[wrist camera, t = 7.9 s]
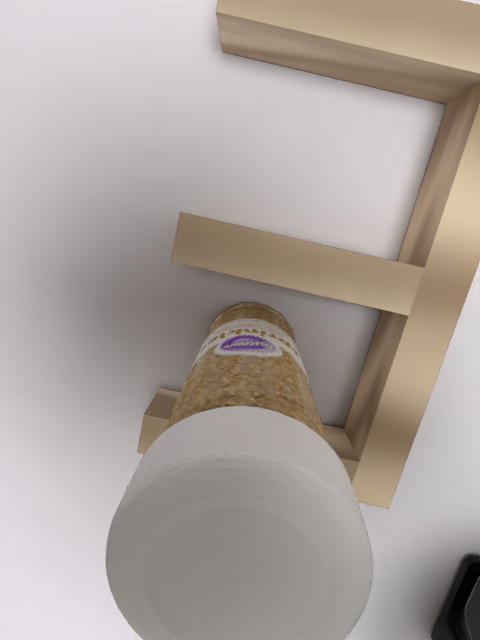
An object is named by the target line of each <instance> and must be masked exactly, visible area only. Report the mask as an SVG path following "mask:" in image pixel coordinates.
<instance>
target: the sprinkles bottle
mask: <svg viewBox="0 0 480 640" xmlns="http://www.w3.org/2000/svg"><path fill="white" fill-rule="evenodd" d="M106 573H107V577H108V581H109V585H110V589H111V592H112V595H113V597H114V599H115V602H116V604H117V606H118V608H119V610H120V611H121V613H122V614H123V616H124V617H125V619H126V620H127V622H128V623H129V625H130V626H131V627H132V628H133V629H134V631H135V632H136V633H137V634H138V635H139V636H140V637H141V638H142V639H143V640H344V639H345V637H346V636H347V635H348V634H349V632H350V631H351V630H352V629H353V627H354V626H355V624H356V623H357V621H358V619H359V618H360V616H361V615H362V613H363V611H364V608H365V606H366V603H367V600H368V597H369V594H370V590H371V584H372V576H373V557H372V551H371V545H370V541H369V537H368V533H367V530H366V526H365V523H364V520H363V517H362V514H361V511H360V508H359V505H358V502H357V499H356V496H355V493H354V490H353V487H352V485H351V482H350V479H349V476H348V474H347V472H346V470H345V467H344V465H343V463H342V462H341V460H340V459H339V457H338V456H337V454H336V453H335V451H334V450H333V449H332V448H331V447H330V446H329V444H328V443H327V441H326V438H325V435H324V431H323V428H322V424H321V420H320V417H319V415H318V411H317V408H316V405H315V402H314V398H313V396H312V393H311V389H310V387H309V378H308V375H307V372H306V370H305V366H304V364H303V361H302V358H301V356H300V353H299V350H298V348H297V346H296V344H295V338H294V335H293V331H292V328H291V327H290V326H289V324H288V322H287V321H286V319H285V318H284V317H283V316H282V315H281V314H280V313H278V312H277V311H275V310H274V309H272V308H270V307H267V306H264V305H262V304H257V303H242V304H239V305H235V306H232V307H230V308H229V309H227V310H225V311H224V312H223V313H221V314H220V315H219V316H218V317H217V318H216V319H215V320H214V322H213V324H212V325H211V327H210V328H209V331H208V334H207V339H206V340H205V342H204V343H203V345H202V347H201V349H200V351H199V353H198V355H197V357H196V359H195V361H194V363H193V365H192V367H191V369H190V371H189V374H188V376H187V379H186V382H185V384H184V387H183V389H182V390H181V393H180V395H179V397H178V399H177V401H176V404H175V406H174V409H173V413H172V416H171V418H170V420H169V422H168V424H167V426H166V429H165V431H164V432H163V433H162V434H161V435H160V436H159V437H158V438H157V439H156V440H155V441H154V442H153V443H152V445H151V446H150V447H149V449H148V450H147V451H146V453H145V455H144V456H143V458H142V460H141V462H140V464H139V465H138V467H137V469H136V471H135V473H134V475H133V477H132V479H131V481H130V483H129V485H128V487H127V489H126V491H125V493H124V496H123V498H122V500H121V502H120V504H119V506H118V509H117V511H116V513H115V515H114V517H113V520H112V523H111V526H110V530H109V534H108V539H107V548H106Z"/></svg>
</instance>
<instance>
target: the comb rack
mask: <svg viewBox="0 0 480 640" xmlns="http://www.w3.org/2000/svg"><path fill="white" fill-rule="evenodd" d="M216 15H217V21H218V26H219V32H220V38H221V43H222V49H223V52H225V53H230V54H234V55H238V56H243V57H247V58H251V59H255V60H260V61H264V62H268V63H273V64H277V65H281V66H285V67H290V68H294V69H298V70H302V71H307V72H311V73H315V74H320V75H324V76H328V77H332V78H337V79H341V80H345V81H350V82H354V83H358V84H362V85H367V86H371V87H375V88H379V89H384V90H388V91H392V92H397V93H401V94H405V95H409V96H414V97H418V98H422V99H426V100H431V101H435V102H439V103H444V104H447V106H446V109H445V112H444V116H443V119H442V122H441V125H440V128H439V131H438V134H437V138H436V141H435V144H434V147H433V150H432V153H431V157H430V160H429V163H428V166H427V169H426V172H425V175H424V179H423V182H422V185H421V188H420V191H419V194H418V197H417V201H416V204H415V207H414V210H413V213H412V216H411V220H410V223H409V226H408V229H407V232H406V235H405V238H404V242H403V245H402V248H401V251H400V254H399V257H398V261H397V262H396V261H392V260H387V259H383V258H379V257H374V256H370V255H366V254H361V253H357V252H352V251H348V250H344V249H339V248H335V247H331V246H326V245H322V244H318V243H313V242H309V241H304V240H300V239H296V238H291V237H287V236H283V235H278V234H274V233H270V232H265V231H261V230H256V229H252V228H248V227H243V226H239V225H235V224H230V223H226V222H221V221H217V220H213V219H208V218H204V217H200V216H195V215H191V214H187V213H182V212H180V216H179V221H178V227H177V232H176V238H175V244H174V249H173V255H172V260H171V262H175V263H179V264H184V265H188V266H193V267H197V268H201V269H206V270H210V271H215V272H219V273H223V274H228V275H232V276H237V277H241V278H245V279H250V280H254V281H259V282H263V283H267V284H272V285H276V286H280V287H285V288H289V289H294V290H298V291H302V292H307V293H311V294H316V295H320V296H324V297H329V298H333V299H338V300H342V301H346V302H351V303H355V304H360V305H364V306H368V307H373V308H377V309H382V311H381V314H380V317H379V320H378V324H377V327H376V330H375V333H374V336H373V339H372V342H371V346H370V349H369V352H368V355H367V358H366V361H365V365H364V368H363V371H362V374H361V377H360V380H359V383H358V387H357V390H356V393H355V396H354V399H353V402H352V405H351V409H350V412H349V415H348V418H347V421H346V424H345V428H344V429H342V428H338V427H333V426H329V425H324V424H322V428H323V431H324V435H325V438H326V441H327V443H328V444H329V446H330V447H331V448H332V449H333V450H334V451H335V453H336V454H337V456H338V457H339V459H340V460H341V462H342V463H343V465H344V467H345V470H346V472H347V474H348V476H349V479H350V482H351V485H352V487H353V490H354V493H355V496H356V499H357V502H361V503H365V504H370V505H374V506H379V507H383V508H388V509H389V506H390V503H391V501H392V498H393V495H394V493H395V490H396V487H397V484H398V482H399V479H400V476H401V474H402V471H403V468H404V465H405V463H406V460H407V457H408V454H409V452H410V449H411V446H412V444H413V441H414V438H415V435H416V433H417V430H418V427H419V425H420V422H421V419H422V416H423V414H424V411H425V408H426V406H427V403H428V400H429V397H430V395H431V392H432V389H433V387H434V384H435V381H436V378H437V376H438V373H439V370H440V368H441V365H442V362H443V359H444V357H445V354H446V351H447V348H448V346H449V343H450V340H451V338H452V335H453V332H454V329H455V327H456V324H457V321H458V319H459V316H460V313H461V310H462V308H463V305H464V302H465V300H466V297H467V294H468V291H469V289H470V286H471V283H472V281H473V278H474V275H475V272H476V270H477V267H478V264H479V262H480V5H478V4H474V3H469V2H465V1H461V0H218V3H217V8H216ZM180 393H181V392H177V391H173V390H168V389H164V388H160V389H159V391H158V393H157V394H156V396H155V397H154V399H153V401H152V402H151V404H150V406H149V407H148V409H147V410H146V412H145V414H144V417H143V423H142V429H141V434H140V440H139V445H138V451H137V453H140V454H145V453H146V451H147V450H148V449H149V447H150V446H151V445H152V443H153V442H154V441H155V440H156V439H157V438H158V437H159V436H160V435H161V434H162V433H163V432H164V431H165V429H166V426H167V424H168V422H169V420H170V418H171V416H172V413H173V409H174V406H175V404H176V401H177V399H178V397H179V395H180Z"/></svg>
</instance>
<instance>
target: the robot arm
mask: <svg viewBox="0 0 480 640" xmlns="http://www.w3.org/2000/svg"><path fill="white" fill-rule="evenodd" d="M474 566H475V567H474ZM431 639H432V640H480V557H476V556H471V557H468V558H467V559H465V561H464V563H463V565H462V567H461V569H460V572H459V574H458V576H457V578H456V581H455V583H454V585H453V588H452V590H451V592H450V594H449V597H448V599H447V601H446V604H445V606H444V608H443V610H442V613H441V615H440V617H439V619H438V622H437V624H436V626H435V629H434V631H433V633H432V636H431Z"/></svg>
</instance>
